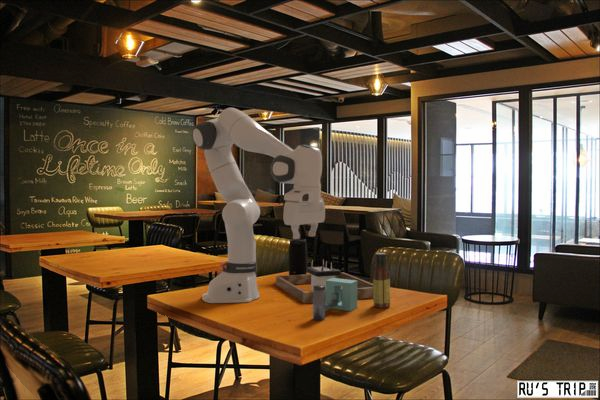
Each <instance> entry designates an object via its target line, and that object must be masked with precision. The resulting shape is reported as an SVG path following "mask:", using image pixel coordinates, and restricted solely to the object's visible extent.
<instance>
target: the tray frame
mask: <svg viewBox="0 0 600 400" xmlns="http://www.w3.org/2000/svg"><path fill="white" fill-rule="evenodd" d="M335 278H339V279H347V280H356V281H358V283H357V300H360V299H362V300H363V299H373V282H372V283H371V282H370V281H367V280H364V279H361V278H359V277H357V276H354V275H351V274H349V273H346V272H341V275H337V276H335ZM305 284H306V285H307V284H311V274H310V273H307V274H305V275H289V274H288V275H275V285H276V286H277V287H278V288H280V289H281V290H283V291H284V292H285V293H288V294H289V295H290V296H292V297H294V298H295V299H297V300H298V301H300V302H302V303H304V304H309V303H310V304H311V303H312V304H313V291H311V290H310V291H306V290H304V289H303V288H300V287H298V286H297V285H305ZM341 301H342V288H341ZM325 302H326V290H325Z"/></svg>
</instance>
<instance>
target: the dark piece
mask: <svg viewBox="0 0 600 400" xmlns="http://www.w3.org/2000/svg"><path fill="white" fill-rule="evenodd" d="M338 302H339V293H332V300H331V301H329V302H327V303H326V301H325V286H323V285H315V286H313V303H312V320H313V321H318V322H319V321H325V320H326V311H329V310H331V309H332V308H333V307H335V306H337V305H338Z"/></svg>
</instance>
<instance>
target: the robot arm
mask: <svg viewBox="0 0 600 400" xmlns="http://www.w3.org/2000/svg"><path fill="white" fill-rule="evenodd" d="M191 134H192V140H193V143H194V144H195V146H196V147H197V148H198V149H199V150H202V151H203V150H204V153H203V154H204V156H205V157H204V159H205V161H206V166H207V168H208V171H209V173H210V175H211V178H212V181H213V183H214V185H215V188H216V190H217V192H218V194H219V195H220V196H221V198H223V200H224V201H225V204H226V205H225V206H224V207H223V208H222V213H221V217H222V220H223V222H224V227H225V233H226V239H227V261H226V262H224V261H221V262H220V263H219V266H220V267H221V268H222V272H220V273H219V274H217V276H216V277H214V278H213V279H212V280H211V281H209V284H208V288H207V292H206V293H203V294H202V295H201V300H202V301H203V302H205V303H209V304H230V303H231V304H233V303H250V302H251V301H254V300H256V299H257V300H258V299H259V298H260V293H259V290H258V289H259V288H258V283H257V275H258V263H257V259H256V258H257V256H256V255H257V252H256V251H257V242H256V239H255V235H254V234H255V233H254V224H255V223H256V222H257V221H258V219H259V218H260V215H261V208H260V206H259V204H258V202H257V201H256V200H255V197H254V196H253V194H252V192H251V191H250V189H249V188H248V185H247V184H246V182H245V180H244V178H243V176H242V173H241V171H240V169H239V166H238V164H237V161H236V160H235V157H234V155H233V152H232V147H233V146H234V147H238V148H240V149H242V150H243V151H246V152H250V153H258V154H262V155H267V156H270V157H272V158H273V159H272V161H271V165H270V174H271V177H272V178H273V180H274V181H275V182H277V183H280V184H290V185H293V188H292V189H291V190H289V191H288V192H286V193H285V194H284V196H283V201H285V202H284V205H283V215H282V216H283V217H282V218H283V222H284V223H283V224H284V225H286V226H290V229H291V232H292V239H300V240H301V232H299V229H300V226H301V225H302V226H303V225H310V230H308V237H311V238H314V237H316V232H317V229H318V226H319V223H320V224H321V223H324V222H325V219H326V206H325V205H326V203H325V201H324V198H323V196H322V195H321V190H322V184H321V178H322V173H323V154H322V151H321V149H320V148H319V147H317V146H312V145H309V144H308V145H307V144H299V145H297V146H296V148H295V149H293V148H292V147H291V146H289V145H288V144H286V143H285V142H283V141H282V140H280V139H278V138H277V137H276V136H274V135H273V134H272V133H271V132H270V131H268V130H266V129H265V128H264V127H263V126H262V125H260V124H259V123H258V122H257V121H256V120H255V119H253V118H252V117H251V116H249V114H247V113H245V112H243V111H241V110H240V109H238V108H235V107H227V108H224V109H223V110H222V111H221V112H220V113H219V116H218V117H215V118H213V119H208V120H206V121H201V122H199V123H197V124H195V125H194V126H193V128H192V132H191Z"/></svg>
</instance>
